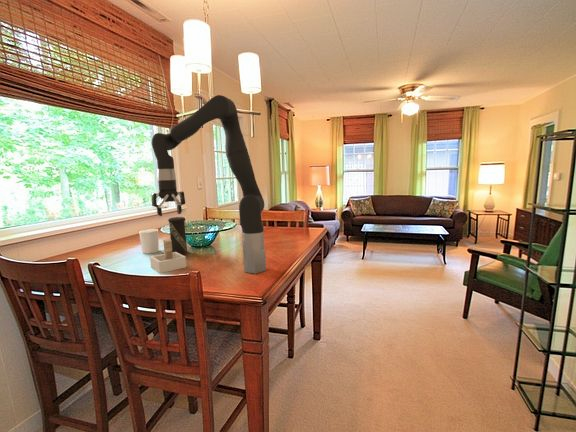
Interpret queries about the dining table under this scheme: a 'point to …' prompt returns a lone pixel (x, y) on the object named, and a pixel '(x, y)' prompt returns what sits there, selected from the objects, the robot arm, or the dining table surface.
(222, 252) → the dining table surface
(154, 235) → the candle holder
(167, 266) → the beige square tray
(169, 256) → the tan column with base
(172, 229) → the container
